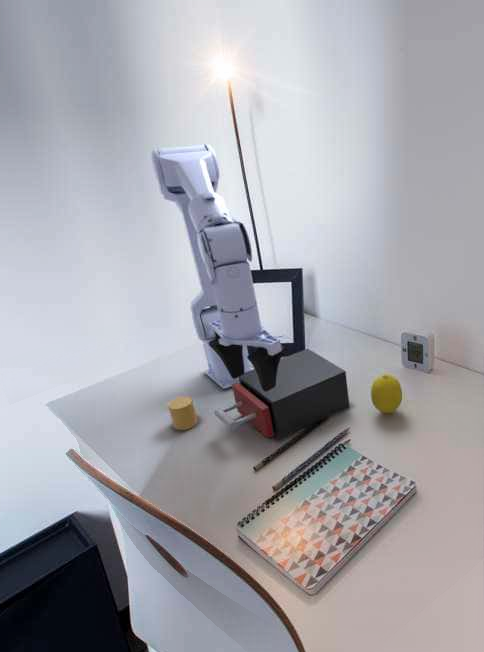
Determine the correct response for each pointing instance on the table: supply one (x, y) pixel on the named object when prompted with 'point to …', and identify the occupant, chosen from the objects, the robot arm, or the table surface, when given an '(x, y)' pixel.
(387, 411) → the lemon
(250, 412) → the drawer
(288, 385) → the dark grey box
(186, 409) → the yellow wooden cylinder
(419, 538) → the table surface
